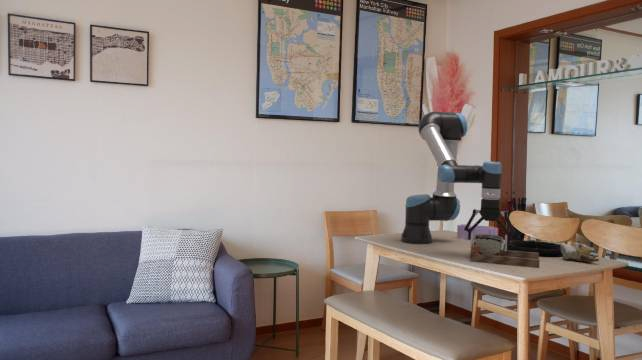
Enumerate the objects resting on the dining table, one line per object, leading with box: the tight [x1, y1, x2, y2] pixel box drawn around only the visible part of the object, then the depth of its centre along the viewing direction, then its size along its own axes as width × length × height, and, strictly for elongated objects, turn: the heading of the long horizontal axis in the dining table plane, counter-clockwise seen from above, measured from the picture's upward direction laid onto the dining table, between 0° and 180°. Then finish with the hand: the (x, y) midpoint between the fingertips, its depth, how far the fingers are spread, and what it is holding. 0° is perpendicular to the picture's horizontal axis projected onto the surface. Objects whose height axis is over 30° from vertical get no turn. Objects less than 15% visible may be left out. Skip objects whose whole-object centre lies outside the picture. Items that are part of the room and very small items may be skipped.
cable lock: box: [503, 239, 563, 258], centre depth 239 cm, size 28×4×30 cm
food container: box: [474, 234, 505, 256], centre depth 217 cm, size 12×6×10 cm, turn 48°
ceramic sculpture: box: [559, 240, 600, 263], centre depth 219 cm, size 11×9×15 cm
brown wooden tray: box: [469, 241, 540, 268], centre depth 215 cm, size 26×17×6 cm
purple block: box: [456, 223, 499, 242], centre depth 273 cm, size 20×12×7 cm, turn 49°
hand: (488, 249), depth 218 cm, fingers open, 13 cm apart
